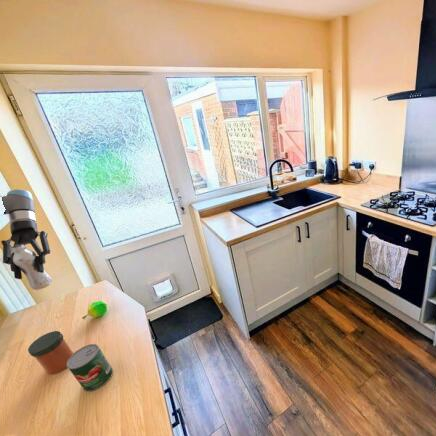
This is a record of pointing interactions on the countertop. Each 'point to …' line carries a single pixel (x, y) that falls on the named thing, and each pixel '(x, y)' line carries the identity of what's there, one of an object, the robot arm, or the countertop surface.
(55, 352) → the jam jar
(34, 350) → the jar lid
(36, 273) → the plastic bottle
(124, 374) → the countertop surface
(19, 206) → the robot arm
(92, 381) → the canned tomato
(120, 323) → the countertop surface
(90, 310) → the apple
